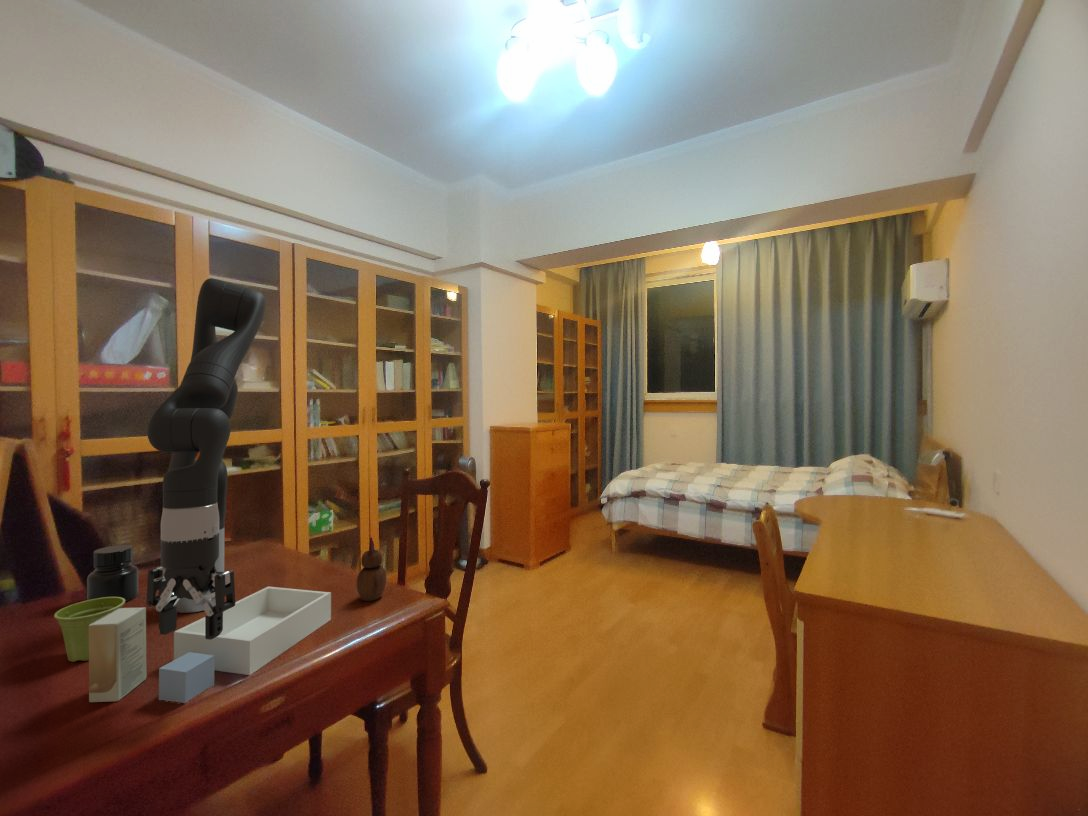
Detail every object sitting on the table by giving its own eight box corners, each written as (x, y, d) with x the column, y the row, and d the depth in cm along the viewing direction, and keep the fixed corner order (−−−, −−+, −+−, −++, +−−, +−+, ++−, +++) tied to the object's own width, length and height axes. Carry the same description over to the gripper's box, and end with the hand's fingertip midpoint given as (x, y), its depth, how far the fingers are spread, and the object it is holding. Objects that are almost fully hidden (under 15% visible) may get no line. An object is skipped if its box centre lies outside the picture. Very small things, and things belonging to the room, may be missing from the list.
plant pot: (63, 673, 81) (63, 622, 80) (47, 658, 86) (47, 609, 85) (133, 650, 88) (133, 603, 88) (114, 636, 93) (114, 592, 93)
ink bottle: (128, 589, 117) (129, 541, 117) (148, 596, 113) (148, 546, 113) (76, 604, 108) (77, 551, 108) (95, 611, 105) (96, 557, 105)
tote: (173, 664, 84) (174, 631, 84) (267, 612, 105) (268, 586, 105) (249, 675, 81) (250, 641, 81) (330, 619, 102) (331, 592, 102)
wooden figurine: (374, 605, 109) (375, 540, 109) (352, 602, 110) (352, 538, 110) (390, 593, 116) (390, 532, 116) (368, 591, 117) (369, 531, 117)
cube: (158, 700, 74) (158, 668, 74) (188, 682, 79) (189, 652, 79) (185, 704, 73) (185, 672, 73) (214, 686, 78) (214, 655, 78)
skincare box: (119, 680, 79) (120, 606, 79) (147, 679, 79) (148, 605, 79) (85, 704, 72) (86, 624, 72) (116, 703, 73) (117, 623, 73)
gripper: (129, 537, 73) (129, 642, 73) (207, 541, 71) (207, 650, 71) (175, 525, 81) (175, 621, 81) (248, 529, 78) (248, 628, 78)
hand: (190, 634), depth 76 cm, fingers open, 8 cm apart
